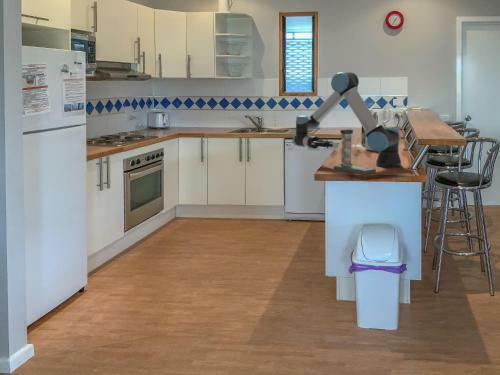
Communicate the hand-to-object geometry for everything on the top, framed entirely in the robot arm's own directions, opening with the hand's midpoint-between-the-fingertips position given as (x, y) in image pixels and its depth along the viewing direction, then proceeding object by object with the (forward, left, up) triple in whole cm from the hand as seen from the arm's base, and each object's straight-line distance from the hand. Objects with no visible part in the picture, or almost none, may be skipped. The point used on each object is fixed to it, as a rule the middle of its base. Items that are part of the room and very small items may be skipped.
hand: (337, 145), depth 429 cm
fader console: (-8, +13, -14) cm, 20 cm away
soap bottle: (-46, -86, -14) cm, 99 cm away
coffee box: (-49, -111, -14) cm, 122 cm away
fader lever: (-4, +7, -11) cm, 14 cm away
